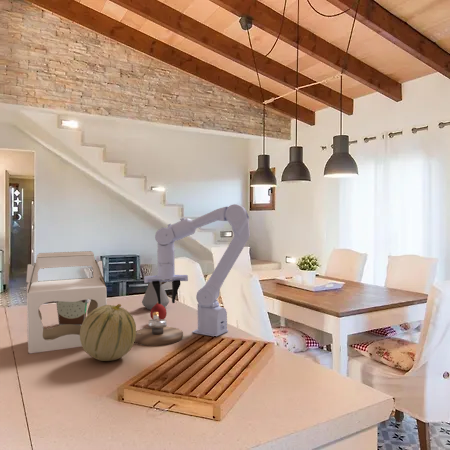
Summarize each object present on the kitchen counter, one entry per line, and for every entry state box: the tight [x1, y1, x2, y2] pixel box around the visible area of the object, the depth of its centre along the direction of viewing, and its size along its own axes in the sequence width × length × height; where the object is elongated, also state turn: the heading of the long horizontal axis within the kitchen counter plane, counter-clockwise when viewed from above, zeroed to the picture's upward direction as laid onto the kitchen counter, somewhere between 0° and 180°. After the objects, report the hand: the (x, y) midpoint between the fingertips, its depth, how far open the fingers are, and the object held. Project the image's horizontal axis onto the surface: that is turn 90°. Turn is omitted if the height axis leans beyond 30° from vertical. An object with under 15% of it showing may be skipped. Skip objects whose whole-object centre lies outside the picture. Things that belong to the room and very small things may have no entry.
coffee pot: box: [141, 279, 171, 311], centre depth 171 cm, size 21×12×15 cm, turn 32°
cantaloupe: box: [80, 303, 137, 362], centre depth 111 cm, size 15×15×15 cm
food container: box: [54, 299, 90, 326], centre depth 151 cm, size 12×6×10 cm, turn 84°
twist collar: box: [148, 312, 168, 328], centre depth 135 cm, size 14×6×2 cm, turn 13°
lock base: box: [134, 326, 184, 346], centre depth 131 cm, size 16×16×4 cm
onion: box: [149, 302, 167, 320], centre depth 149 cm, size 6×6×8 cm
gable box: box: [25, 250, 108, 354], centre depth 127 cm, size 22×13×28 cm, turn 117°
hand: (166, 303), depth 140 cm, fingers open, 4 cm apart
